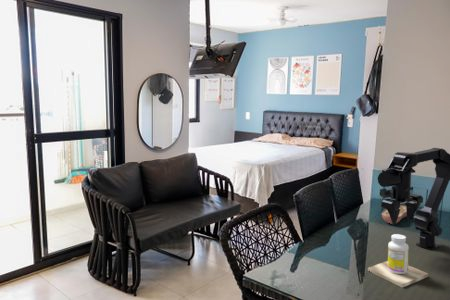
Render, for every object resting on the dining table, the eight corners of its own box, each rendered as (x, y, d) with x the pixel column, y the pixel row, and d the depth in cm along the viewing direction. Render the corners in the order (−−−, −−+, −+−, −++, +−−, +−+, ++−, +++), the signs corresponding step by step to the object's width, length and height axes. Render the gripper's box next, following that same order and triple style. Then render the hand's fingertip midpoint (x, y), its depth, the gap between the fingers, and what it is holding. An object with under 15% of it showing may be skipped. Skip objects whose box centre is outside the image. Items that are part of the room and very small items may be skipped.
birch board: (392, 261, 138) (392, 258, 138) (427, 276, 126) (428, 273, 126) (367, 270, 132) (367, 267, 131) (402, 287, 119) (402, 284, 119)
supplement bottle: (397, 265, 133) (398, 231, 131) (412, 272, 127) (413, 237, 125) (383, 268, 130) (384, 234, 129) (398, 276, 124) (399, 241, 123)
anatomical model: (397, 227, 174) (397, 218, 174) (376, 223, 181) (377, 213, 181) (413, 216, 190) (414, 207, 189) (394, 212, 197) (394, 203, 196)
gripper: (399, 177, 154) (398, 212, 156) (369, 183, 145) (369, 220, 147) (424, 182, 144) (422, 219, 146) (394, 189, 135) (392, 228, 137)
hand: (401, 221), depth 144 cm, fingers open, 9 cm apart
